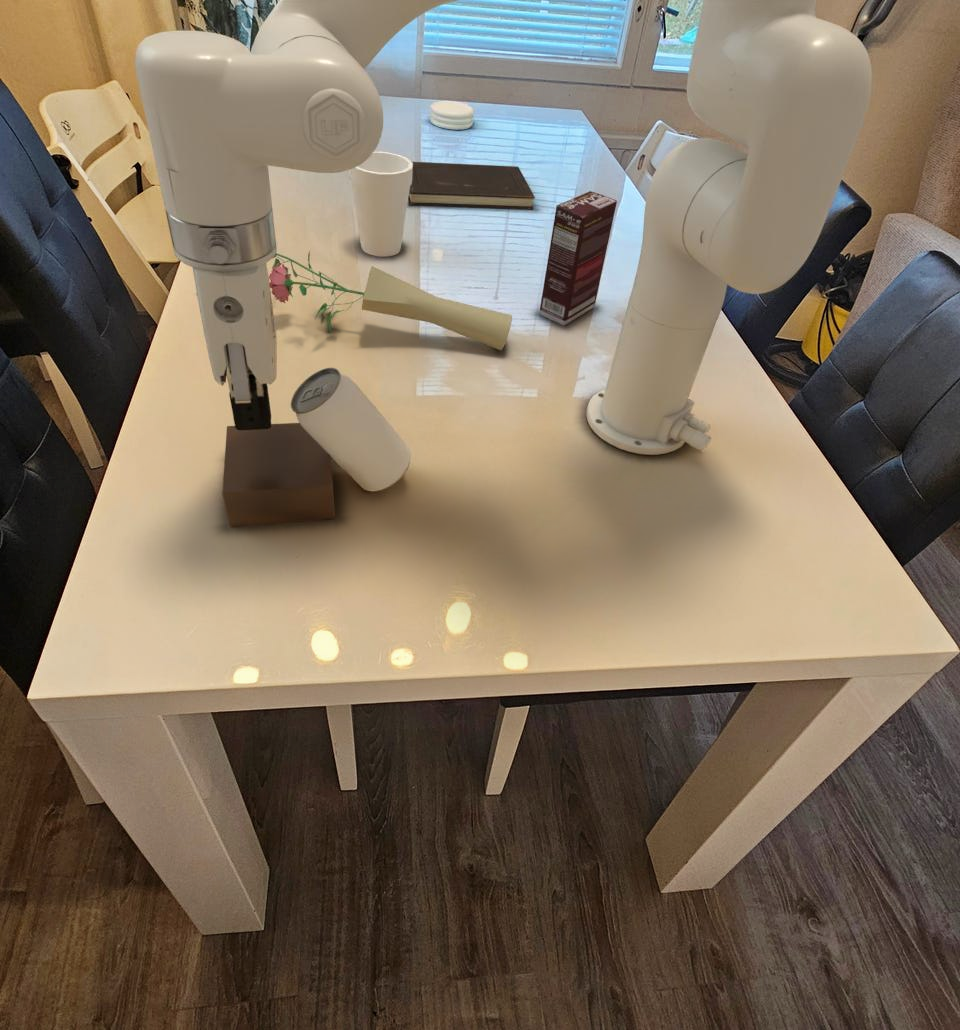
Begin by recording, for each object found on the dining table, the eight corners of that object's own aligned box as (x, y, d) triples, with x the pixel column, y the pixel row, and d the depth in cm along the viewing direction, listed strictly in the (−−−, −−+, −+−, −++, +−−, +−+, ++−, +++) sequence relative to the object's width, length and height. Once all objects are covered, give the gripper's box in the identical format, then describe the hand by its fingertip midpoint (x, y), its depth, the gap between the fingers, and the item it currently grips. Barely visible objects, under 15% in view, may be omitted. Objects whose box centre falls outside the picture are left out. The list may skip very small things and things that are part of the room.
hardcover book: (533, 209, 131) (535, 196, 129) (409, 205, 127) (409, 192, 125) (516, 177, 142) (517, 165, 140) (402, 172, 138) (402, 160, 136)
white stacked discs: (480, 124, 164) (482, 107, 162) (457, 133, 158) (458, 116, 155) (445, 113, 167) (446, 97, 165) (421, 122, 161) (421, 105, 158)
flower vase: (481, 405, 98) (226, 329, 92) (491, 339, 104) (253, 263, 97) (508, 352, 88) (224, 263, 81) (518, 283, 94) (254, 194, 87)
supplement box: (569, 295, 108) (590, 189, 97) (595, 307, 106) (620, 200, 95) (536, 314, 103) (554, 204, 92) (563, 327, 101) (585, 216, 90)
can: (405, 488, 70) (332, 407, 62) (354, 498, 73) (277, 422, 65) (419, 439, 73) (351, 356, 65) (369, 450, 77) (299, 373, 68)
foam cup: (343, 238, 115) (340, 153, 105) (396, 232, 118) (397, 149, 109) (364, 264, 109) (362, 176, 100) (419, 257, 112) (422, 172, 103)
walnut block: (329, 454, 77) (327, 421, 73) (335, 519, 70) (332, 485, 67) (233, 459, 75) (226, 425, 71) (229, 526, 68) (221, 492, 65)
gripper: (275, 277, 49) (297, 475, 62) (274, 193, 59) (293, 377, 72) (159, 277, 47) (206, 480, 60) (179, 191, 57) (216, 380, 70)
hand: (253, 424), depth 66 cm, fingers closed
